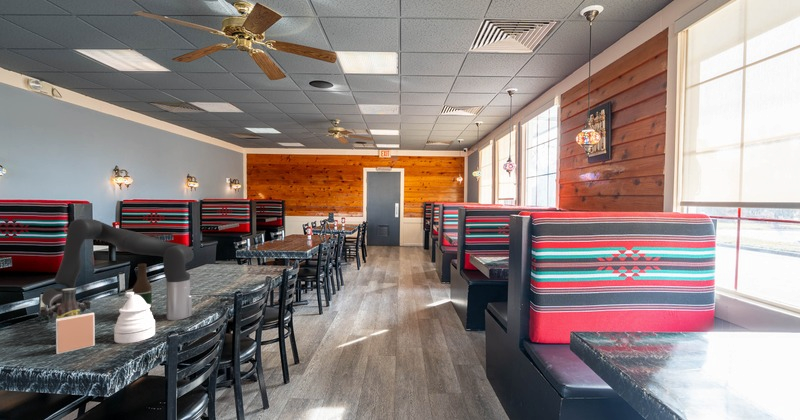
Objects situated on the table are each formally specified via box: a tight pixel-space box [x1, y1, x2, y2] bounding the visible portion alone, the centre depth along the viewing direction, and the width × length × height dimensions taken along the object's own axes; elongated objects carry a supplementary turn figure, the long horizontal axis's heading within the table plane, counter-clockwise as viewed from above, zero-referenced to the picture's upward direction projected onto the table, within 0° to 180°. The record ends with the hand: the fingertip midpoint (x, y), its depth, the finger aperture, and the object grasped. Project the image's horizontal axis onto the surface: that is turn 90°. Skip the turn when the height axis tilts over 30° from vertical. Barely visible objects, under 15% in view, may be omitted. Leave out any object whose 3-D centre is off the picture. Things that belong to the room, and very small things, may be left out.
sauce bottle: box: [56, 287, 80, 319], centre depth 131 cm, size 6×6×20 cm
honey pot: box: [113, 291, 156, 344], centre depth 136 cm, size 13×13×18 cm
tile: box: [55, 312, 96, 355], centre depth 124 cm, size 10×2×12 cm, turn 139°
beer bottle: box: [132, 263, 153, 313], centre depth 163 cm, size 8×8×24 cm
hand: (67, 311), depth 132 cm, fingers open, 8 cm apart
